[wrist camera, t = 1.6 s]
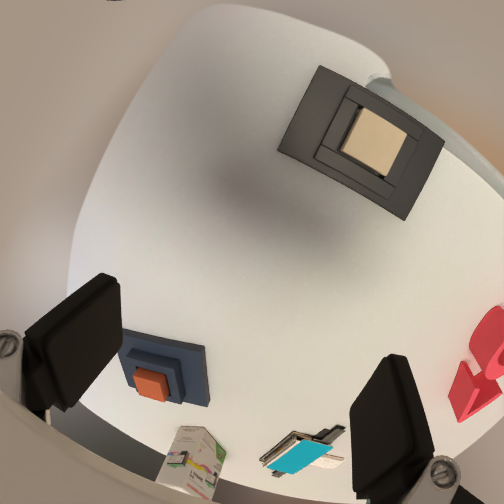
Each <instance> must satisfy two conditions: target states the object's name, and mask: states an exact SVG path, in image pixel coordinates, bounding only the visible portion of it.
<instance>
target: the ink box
mask: <svg viewBox="0 0 504 504" xmlns="http://www.w3.org/2000/svg"><path fill="white" fill-rule="evenodd" d="M225 456H226V452H225V451H224V450H223V449H222V448H221V447H220V446H219V445H218V444H217V442H216V441H215V440H214V439H213V438H212V437H211V435H210V434H209V433H208V432H207V431H206V430H205V428H204V427H180V428H179V430H178V432H177V435H176V437H175V439H174V441H173V443H172V446H171V448H170V450H169V452H168V454H167V457H166V459H165V461H164V463H163V465H162V468H161V470H160V472H159V475H158V477H157V479H156V481H155V482H156V483H158V484H161V485H163V486H166V487H169V488H171V489H174V490H177V491H180V492H183V493H186V494H189V495H192V496H195V497H199V498H202V499H205V500H209V501H211V499H212V497H213V494H214V491H215V488H216V484H217V481H218V478H219V475H220V472H221V469H222V466H223V462H224V459H225Z"/></svg>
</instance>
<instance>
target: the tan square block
mask: <svg viewBox="0 0 504 504" xmlns="http://www.w3.org/2000/svg"><path fill="white" fill-rule="evenodd" d="M406 136H407V134H406V133H405V132H404V131H402V130H401V129H399V128H397V127H396V126H394V125H393V124H391V123H390V122H388V121H386V120H385V119H383V118H382V117H380V116H378V115H377V114H375V113H373V112H371V111H370V110H368V109H366V108H363V109H361V110H360V111H359V113H358V115H357V117H356V119H355V121H354V123H353V125H352V127H351V129H350V131H349V133H348V135H347V137H346V139H345V141H344V143H343V145H342V147H341V149H340V151H341V152H343V153H345V154H347V155H349V156H350V157H352V158H354V159H356V160H357V161H359V162H361V163H363V164H364V165H366V166H368V167H369V168H371V169H373V170H374V171H376V172H378V173H379V174H381V175H384V176H387V174H388V172H389V170H390V168H391V166H392V164H393V162H394V160H395V158H396V156H397V154H398V152H399V150H400V148H401V146H402V144H403V142H404V140H405V138H406Z"/></svg>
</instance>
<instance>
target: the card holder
mask: <svg viewBox="0 0 504 504" xmlns="http://www.w3.org/2000/svg"><path fill="white" fill-rule="evenodd" d="M340 427H341V426H338V425H337V426H335V427H334V428H333V429H332V430H331V431H330V430H327V429H323V430H322V431H321V432H319V433H318V434H317V435H316V436H315V437H313V436H309V435H305V434H302V433H299V432H295V431H292V432H291V433H290V434H289V435H288V436H287V437H286V438H284V439H283V440H282V441H281V442H280V443H278V444H277V445H276V446H275V447H274V448H272V449H271V450H270V451H269V452H267V453H266V454H265V455H264V456H262V457H261V458H260V460H259V461H262V462H264V463H262V464H263V467H264V466H265V465H268V466H267V468H269V469H272V470H276V471H274V472H273V475H271V476H274V477H278V478H279V477H280V476H282V475H284V474H286V473H289V474H295V473H296V472H298V471H299V470H301V469H303V468H304V467H306V466H307V465H312V466H317V467H321V468H326V469H333V468H335V467H336V466H338V465H340V464H341V463H343V462H344V458H340V457H335V456H330V455H326V454H325V453H327V452H328V451H330V450H331V449H332V448H333V446H330V445H328V444H330V443H331V442H332V441H334V440H335V439H336V438H337V437H339V436H340V435H341V434H342V433H344V432H345V431H344V429H345V427H341V428H340ZM311 437H313V438H312V439H311ZM276 475H277V476H276Z"/></svg>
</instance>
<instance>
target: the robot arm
mask: <svg viewBox="0 0 504 504" xmlns="http://www.w3.org/2000/svg"><path fill="white" fill-rule="evenodd" d="M25 335H26V336H25V337H24V338H23V339H22V337H21V336H20V334H19V333H17V332H15V331H13V330H1V331H0V504H220V503H216V502H213V501H209V500H205V499H202V498H199V497H195V496H192V495H189V494H186V493H183V492H180V491H177V490H174V489H171V488H169V487H166V486H163V485H161V484H158V483H156V482H153V481H151V480H148V479H146V478H143V477H141V476H139V475H137V474H134V473H132V472H130V471H128V470H126V469H123V468H121V467H119V466H117V465H115V464H113V463H111V462H109V461H108V460H106V459H104V458H102V457H100V456H98V455H96V454H94V453H93V452H91V451H89V450H87V449H86V448H84V447H82V446H81V445H79V444H77V443H76V442H74V441H72V440H71V439H69V438H68V437H66V436H65V435H63V434H62V433H60V432H59V431H57V430H56V429H54V428H52V427H51V424H50V413H49V409H50V407H51V406H52V405H54V406H56V407H57V408H59V409H60V410H61V411H63V412H65V411H66V410H67V409H68V407H70V408H71V407H73V406H74V405H75V404H76V403H77V402H78V400H79V399H80V398H81V396H82V395H83V394H84V393H85V391H86V390H87V389H88V388H89V386H90V385H91V384H92V383H93V381H94V380H95V379H96V378H97V376H98V375H99V374H100V373H101V371H102V370H103V369H104V368H105V367H106V365H107V364H108V363H109V362H110V360H111V359H112V358H113V357H114V356H115V354H116V353H117V352H118V351H119V350H120V348H121V346H122V344H123V333H122V318H121V295H120V284H119V283H117V279H116V278H115V277H113V276H110V275H107V274H105V273H100V274H98V275H97V276H95V277H94V278H93V279H91V280H90V281H89V282H87V283H86V284H85V285H83V286H82V287H81V288H79V289H78V290H77V291H75V292H74V293H73V294H71V295H70V296H69V297H67V298H66V299H65V300H64V301H62V302H61V303H60V304H58V305H57V306H56V307H54V308H53V309H52V310H51V311H50V312H48V313H47V314H46V315H44V316H43V317H42V318H41V319H39V320H38V321H37V322H36V323H35V324H33V325H32V326H31V327H30V328H29V329H27V330H26V331H25ZM349 415H350V430H351V449H352V485H353V491H354V492H356V499H370V504H484V503H483V502H482V501H480V500H479V499H477V498H476V497H475V496H474V495H472V494H471V493H470V492H468V491H467V490H466V489H464V488H463V487H462V486H460V485H459V483H460V479H461V472H460V469H459V466H458V465H457V463H456V462H455V461H454V460H453V459H452V458H450V457H448V456H443V455H440V456H436V457H434V455H433V452H434V451H435V449H434V445H433V441H432V437H431V433H430V429H429V426H428V422H427V419H426V415H425V412H424V408H423V405H422V402H421V399H420V395H419V392H418V389H417V386H416V383H415V380H414V377H413V374H412V371H411V368H410V366H409V363H408V360H407V358H406V357H405V356H402V355H396V354H390V355H388V356H387V357H384V358H383V359H382V360H381V362H380V364H379V365H378V367H377V368H376V370H375V371H374V373H373V375H372V376H371V378H370V379H369V381H368V382H367V384H366V385H365V387H364V388H363V390H362V391H361V393H360V394H359V396H358V397H357V398H356V400H355V401H354V403H353V404H352V406H351V408H350V413H349Z"/></svg>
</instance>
